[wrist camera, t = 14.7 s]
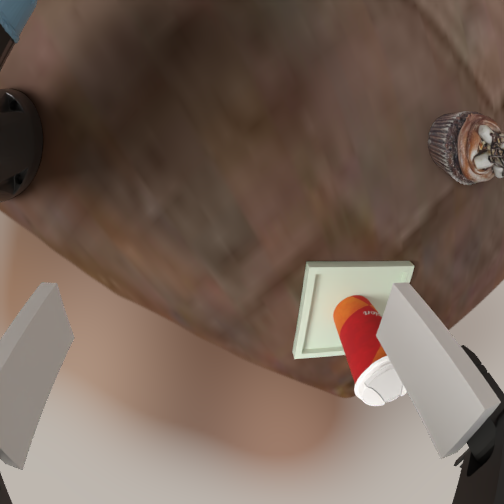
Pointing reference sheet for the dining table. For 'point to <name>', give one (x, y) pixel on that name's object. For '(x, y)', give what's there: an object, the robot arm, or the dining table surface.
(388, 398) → the coffee cup
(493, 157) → the cupcake
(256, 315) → the dining table surface
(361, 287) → the tray
